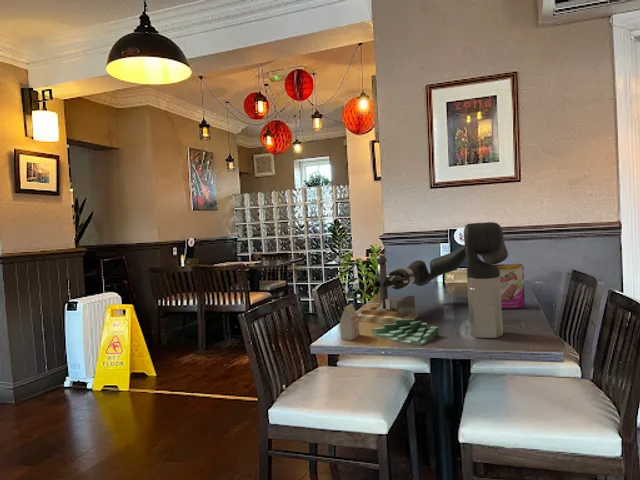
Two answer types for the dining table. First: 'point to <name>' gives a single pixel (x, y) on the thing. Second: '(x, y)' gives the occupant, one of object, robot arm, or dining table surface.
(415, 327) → the money
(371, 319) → the press bench
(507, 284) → the candy bar box
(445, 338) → the dining table surface
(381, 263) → the handle
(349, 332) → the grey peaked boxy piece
